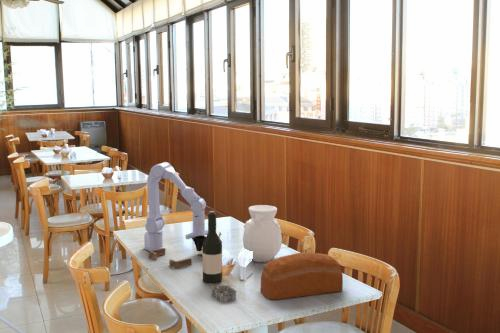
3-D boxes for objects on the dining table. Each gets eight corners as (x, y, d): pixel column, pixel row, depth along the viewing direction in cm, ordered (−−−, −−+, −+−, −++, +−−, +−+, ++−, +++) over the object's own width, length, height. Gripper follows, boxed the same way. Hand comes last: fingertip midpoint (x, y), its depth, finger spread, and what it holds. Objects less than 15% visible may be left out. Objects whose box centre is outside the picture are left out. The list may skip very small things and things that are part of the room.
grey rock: (209, 294, 230) (209, 284, 230) (226, 291, 234) (226, 281, 233) (220, 303, 221) (220, 293, 220) (238, 300, 224) (238, 289, 224)
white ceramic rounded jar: (275, 267, 263) (275, 213, 259) (237, 262, 268) (237, 210, 265) (286, 255, 280) (286, 205, 276) (250, 251, 286) (250, 202, 282)
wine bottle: (226, 279, 247) (225, 210, 242) (215, 285, 239) (214, 214, 235) (209, 276, 251) (209, 208, 246) (198, 281, 244) (198, 212, 239)
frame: (148, 257, 276) (148, 251, 276) (163, 253, 282) (163, 247, 281) (176, 268, 260) (176, 262, 259) (191, 264, 266) (191, 258, 265)
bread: (257, 289, 235) (257, 252, 233) (330, 280, 246) (330, 245, 243) (269, 302, 222) (270, 263, 220) (345, 292, 233) (346, 255, 230)
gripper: (191, 227, 272) (192, 255, 275) (215, 222, 282) (215, 249, 284) (182, 225, 278) (183, 252, 280) (206, 220, 287) (206, 246, 289)
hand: (199, 250), depth 282 cm, fingers closed
